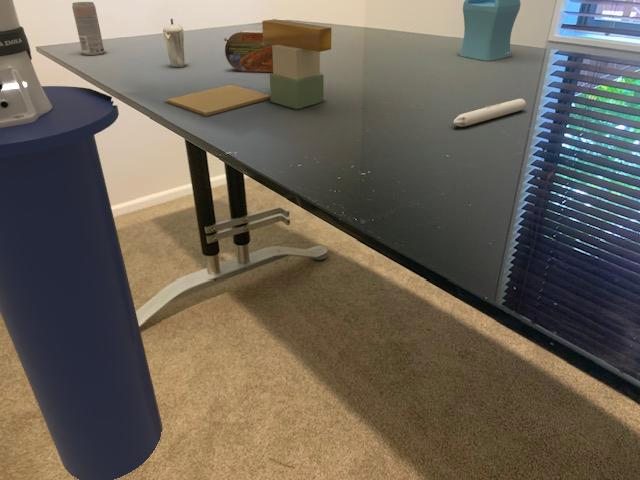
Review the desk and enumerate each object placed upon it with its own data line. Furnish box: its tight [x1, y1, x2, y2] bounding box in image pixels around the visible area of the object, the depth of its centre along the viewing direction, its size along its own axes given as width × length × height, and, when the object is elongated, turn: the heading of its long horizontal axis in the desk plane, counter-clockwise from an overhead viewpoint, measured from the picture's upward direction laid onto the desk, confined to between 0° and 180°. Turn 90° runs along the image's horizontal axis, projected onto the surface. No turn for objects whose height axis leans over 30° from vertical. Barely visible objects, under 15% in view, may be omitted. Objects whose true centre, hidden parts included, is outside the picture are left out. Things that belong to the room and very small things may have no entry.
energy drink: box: [71, 1, 105, 56], centre depth 128 cm, size 5×5×12 cm
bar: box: [262, 18, 333, 53], centre depth 88 cm, size 3×14×4 cm, turn 47°
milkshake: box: [162, 18, 186, 68], centre depth 117 cm, size 5×5×10 cm
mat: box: [166, 84, 271, 117], centre depth 94 cm, size 15×12×1 cm
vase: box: [459, 0, 522, 62], centre depth 125 cm, size 10×10×25 cm
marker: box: [452, 98, 527, 128], centre depth 85 cm, size 18×2×2 cm, turn 126°
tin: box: [224, 31, 278, 73], centre depth 113 cm, size 15×3×8 cm, turn 82°
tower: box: [269, 44, 325, 110], centre depth 92 cm, size 7×7×10 cm
